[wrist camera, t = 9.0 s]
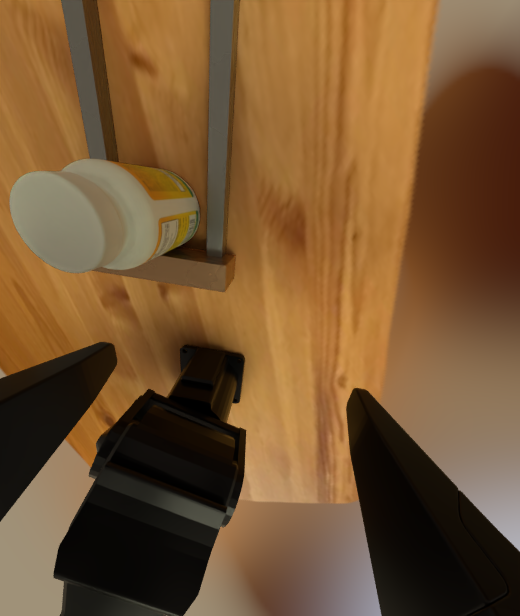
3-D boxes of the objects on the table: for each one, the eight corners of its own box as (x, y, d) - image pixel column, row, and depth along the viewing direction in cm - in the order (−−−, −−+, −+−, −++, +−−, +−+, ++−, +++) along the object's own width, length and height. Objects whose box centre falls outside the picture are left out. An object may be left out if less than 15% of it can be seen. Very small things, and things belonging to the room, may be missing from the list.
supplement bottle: (209, 239, 19) (141, 283, 10) (149, 249, 20) (41, 295, 11) (190, 161, 16) (80, 134, 8) (122, 176, 17) (-39, 166, 9)
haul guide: (233, 278, 20) (224, 292, 17) (109, 258, 21) (82, 268, 18) (261, -100, 11) (251, -189, 8) (43, -116, 12) (-30, -204, 9)
